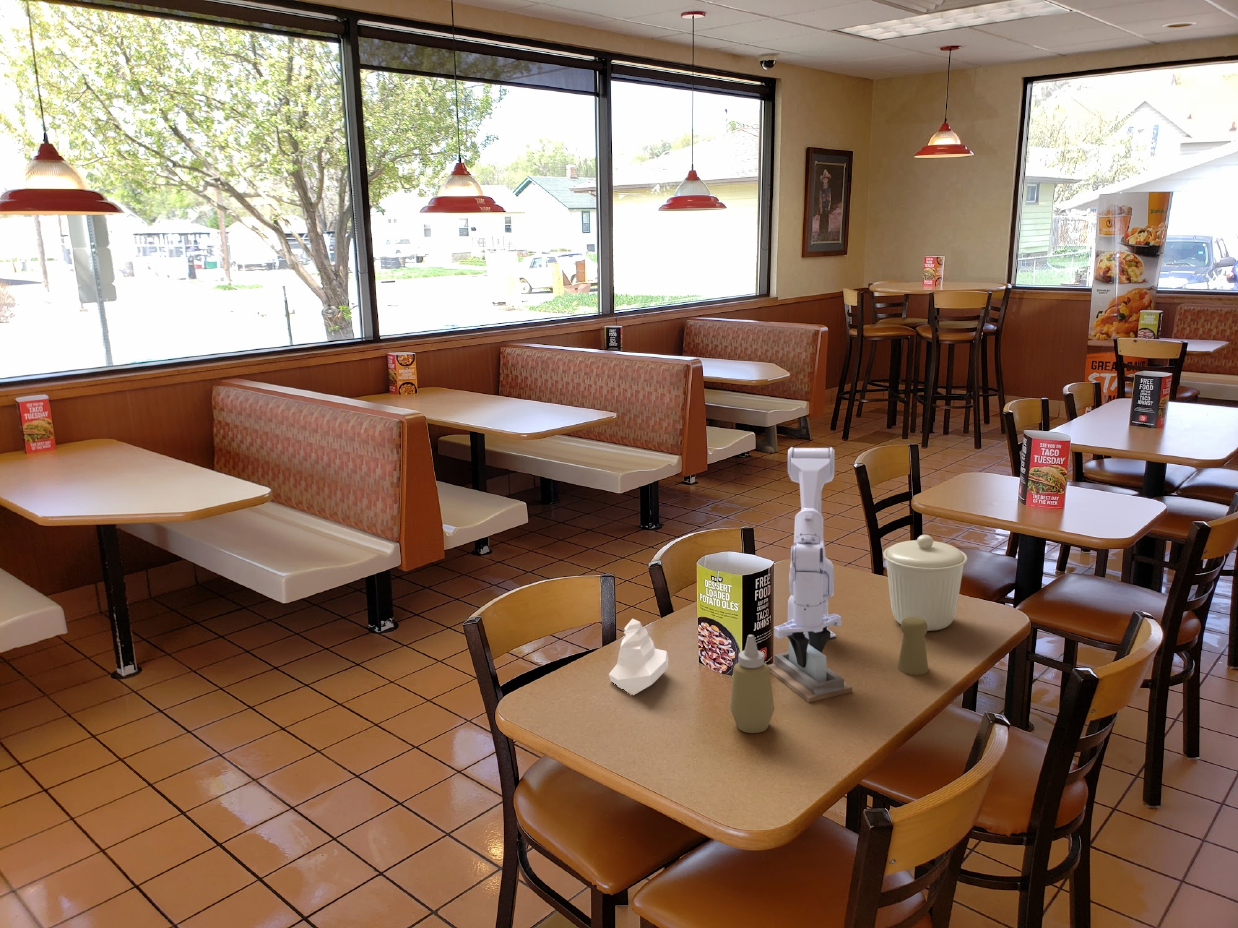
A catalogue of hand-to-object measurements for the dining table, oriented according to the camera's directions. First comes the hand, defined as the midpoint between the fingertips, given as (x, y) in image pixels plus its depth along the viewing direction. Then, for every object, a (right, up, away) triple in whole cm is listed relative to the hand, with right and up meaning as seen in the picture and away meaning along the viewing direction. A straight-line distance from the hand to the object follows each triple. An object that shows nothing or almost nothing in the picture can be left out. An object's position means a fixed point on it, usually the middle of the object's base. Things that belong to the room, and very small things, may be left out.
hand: (808, 663), depth 185 cm
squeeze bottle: (-14, -8, -16) cm, 22 cm away
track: (0, -4, +1) cm, 4 cm away
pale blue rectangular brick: (0, -2, +1) cm, 3 cm away
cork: (+23, -2, +4) cm, 23 cm away
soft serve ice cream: (-34, -5, +4) cm, 35 cm away
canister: (+32, +4, +26) cm, 41 cm away
